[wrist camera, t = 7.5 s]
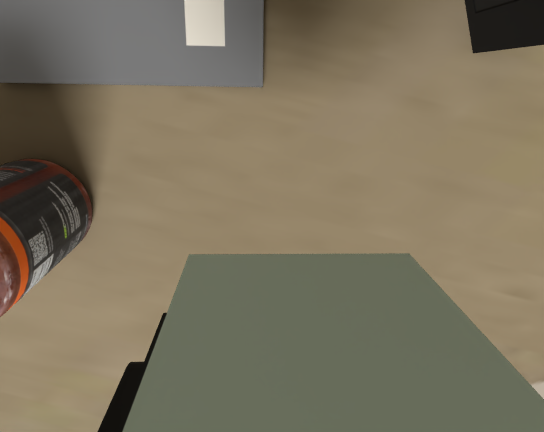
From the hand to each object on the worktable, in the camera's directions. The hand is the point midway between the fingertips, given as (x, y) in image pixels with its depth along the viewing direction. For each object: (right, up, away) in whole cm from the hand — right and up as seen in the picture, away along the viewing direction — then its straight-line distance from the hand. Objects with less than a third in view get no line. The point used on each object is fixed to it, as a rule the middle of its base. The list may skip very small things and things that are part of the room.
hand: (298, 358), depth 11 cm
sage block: (0, 0, +1) cm, 1 cm away
